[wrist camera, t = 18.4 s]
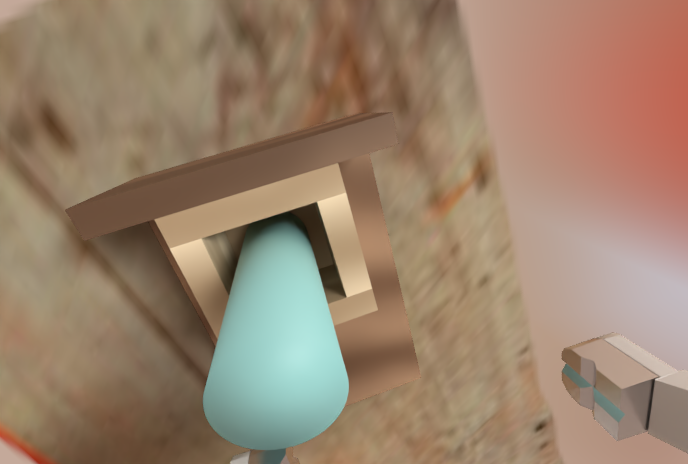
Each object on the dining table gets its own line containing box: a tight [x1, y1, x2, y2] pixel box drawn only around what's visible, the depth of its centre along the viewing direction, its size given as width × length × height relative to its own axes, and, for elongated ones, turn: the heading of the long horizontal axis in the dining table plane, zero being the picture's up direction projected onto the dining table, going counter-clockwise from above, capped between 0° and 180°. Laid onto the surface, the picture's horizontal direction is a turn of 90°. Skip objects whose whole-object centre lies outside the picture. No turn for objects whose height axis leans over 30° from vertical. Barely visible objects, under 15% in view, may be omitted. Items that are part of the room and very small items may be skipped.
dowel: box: [203, 211, 349, 450], centre depth 12 cm, size 3×3×10 cm
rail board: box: [65, 112, 421, 407], centre depth 18 cm, size 19×12×6 cm, turn 15°
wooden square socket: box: [154, 163, 378, 339], centre depth 16 cm, size 7×7×5 cm
